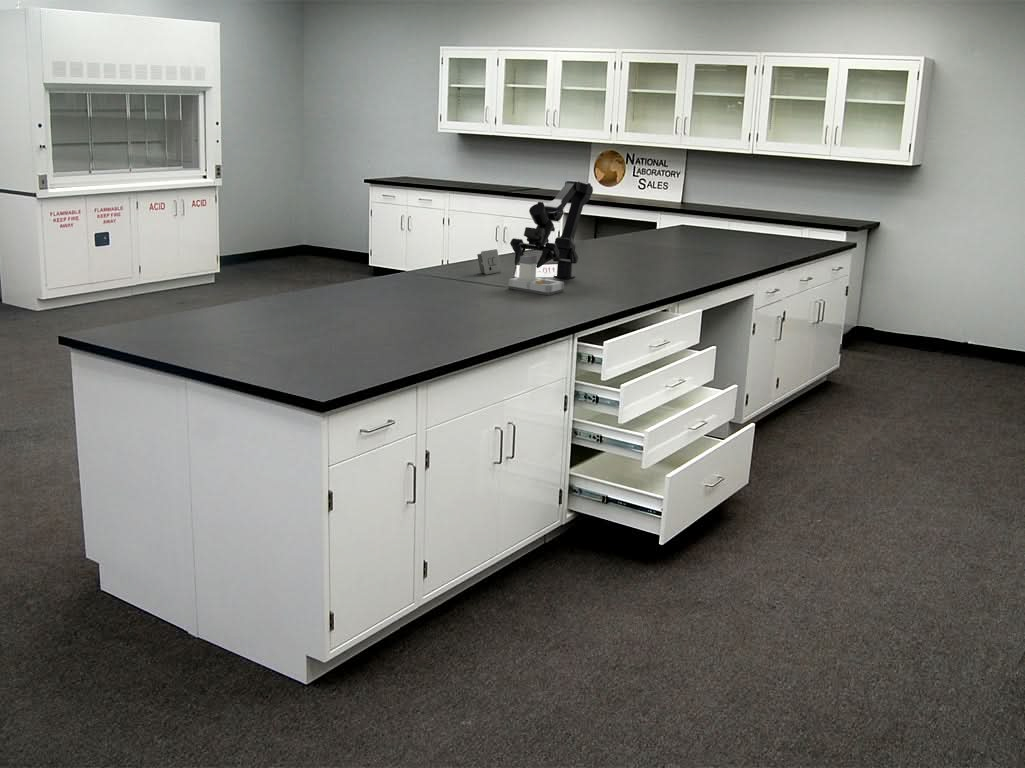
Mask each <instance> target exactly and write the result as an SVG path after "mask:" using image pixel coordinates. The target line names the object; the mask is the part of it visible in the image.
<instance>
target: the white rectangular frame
mask: <svg viewBox="0 0 1025 768" xmlns="http://www.w3.org/2000/svg"><path fill="white" fill-rule="evenodd" d="M509 288H510V290H514V289H515V290H516V291H520V292H526V293H533V294H537V295H539V294H540V295H542V296H543V295H545V296H551V295H555V293H556V294H558V293H562V292H565V291H564V289H565V282H564V281H559V280H554V279H548V278H547V279H546V278H541V277H536V280H534V281H524V280H519V276H517V277H513V278H509V279H508V289H509ZM515 290H514V291H515Z"/></svg>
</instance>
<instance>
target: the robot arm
mask: <svg viewBox="0 0 1025 768" xmlns="http://www.w3.org/2000/svg"><path fill="white" fill-rule="evenodd" d="M593 193H594V188H593V186H592V185H591V183H590V182H580V181H578V180H573V179H567V180H565V183H564V185H563V187H562V188H561V189H560V191H558V193H557V195H556V196H555V197H554V199H553V200H551V201H548V202H546V203H544V202H543V201H538V202H537V203H536V204H535V203H534V204H533V205H532V206H530V207H529V211H528V212H529V215H530V217H531V219H532V220H533V223H534V224H535V225H536V227H528V226H527V227H525V228H524V233H523V237H526V241H527V242H524V240H523V239H521V238H517V237H515V238H512V239H511V240H510V242H509V244H510V246H511V248H512V250H513V252H514V255H515V256H514V265H515V266H518V264H520V256H524V255H525V254H524V253H525V252H526V250H532V251H534V252H535V251H536V252H540V253H541V252H542V253H541V256H539V259H538V262H536V269H539V268H540V267H542V266H543V265H545V264H546V263H547V262H549V261H553V262H557V266H556V267H557V268H556V275H557V276H555V275H553V278H558V279H563V280H568V279H573V278H576V275H573V265H574V264H578V262H579V256H578V254H577V252H576V243H575V240H574V239H575V237H576V236H575V235H576V233H577V228H578V225H579V222H580V219H581V215H582V211H583V207H584V206H585V205H586V204H587V203H588V202H589V201H590V199H591V196H592V195H593ZM570 200H571V203H570V207H569V210H568V213H567V216H566V220H565V224H564V226H563V229H562V232H561V235H560V236H558V237H555V240H554V242H549V241H550V240H549V237H550V235H551V233H552V232H555V230H556V229H555V224H554V223H553V222H560V221H561V219H562V218H563V215H564V213H565V212H564V208H565V207H566V206H567V204H568V203H569V202H570Z"/></svg>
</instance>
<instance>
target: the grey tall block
mask: <svg viewBox="0 0 1025 768" xmlns="http://www.w3.org/2000/svg"><path fill="white" fill-rule="evenodd" d="M536 266H537V256H535V255H529V254H524V255H523V256H520V261H519V273H518V277H519V280H524V281H534V280H536V278H537V275H536V274H537V267H536Z"/></svg>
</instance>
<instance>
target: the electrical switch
mask: <svg viewBox="0 0 1025 768" xmlns="http://www.w3.org/2000/svg"><path fill="white" fill-rule="evenodd" d="M477 260H478V261H477V262H478V265H479V266H478V267H479V272H480V274H485V275H490V274H491V275H493V274H498V273H501V271H502V269H501V262H500V255H499V252H498V249H497V248H496V249H489V250H482V251H481V252H480V253H478V254H477Z"/></svg>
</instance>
